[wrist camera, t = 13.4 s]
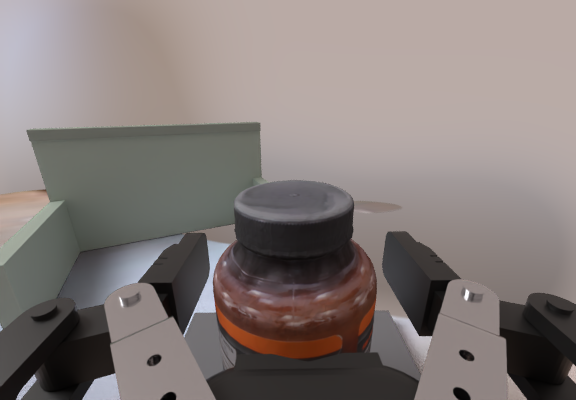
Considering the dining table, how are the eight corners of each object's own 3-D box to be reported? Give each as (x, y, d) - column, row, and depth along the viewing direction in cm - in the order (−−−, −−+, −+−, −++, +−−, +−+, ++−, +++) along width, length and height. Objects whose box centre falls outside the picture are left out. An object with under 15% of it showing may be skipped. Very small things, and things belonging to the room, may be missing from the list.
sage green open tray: (307, 266, 27) (311, 131, 22) (11, 347, 18) (-79, 150, 14) (259, 215, 39) (256, 122, 35) (70, 248, 30) (33, 128, 26)
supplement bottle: (336, 356, 16) (350, 170, 12) (383, 492, 10) (437, 226, 7) (233, 370, 15) (214, 175, 11) (225, 524, 10) (182, 244, 6)
